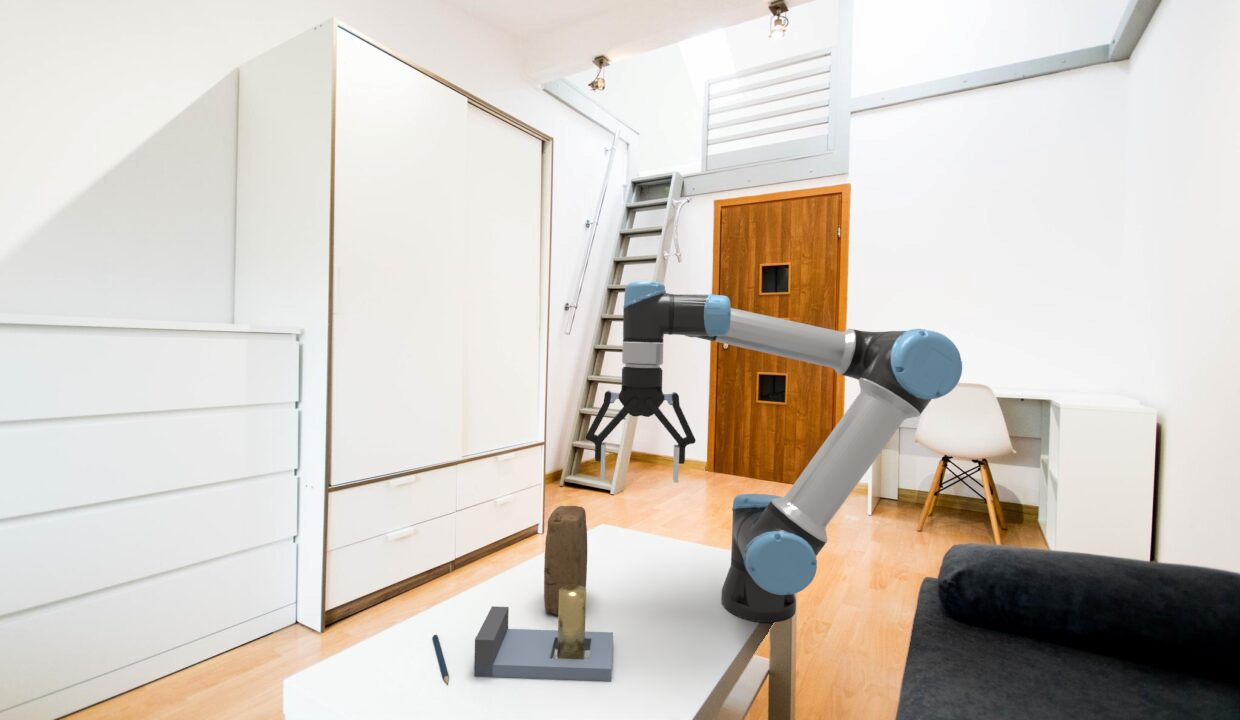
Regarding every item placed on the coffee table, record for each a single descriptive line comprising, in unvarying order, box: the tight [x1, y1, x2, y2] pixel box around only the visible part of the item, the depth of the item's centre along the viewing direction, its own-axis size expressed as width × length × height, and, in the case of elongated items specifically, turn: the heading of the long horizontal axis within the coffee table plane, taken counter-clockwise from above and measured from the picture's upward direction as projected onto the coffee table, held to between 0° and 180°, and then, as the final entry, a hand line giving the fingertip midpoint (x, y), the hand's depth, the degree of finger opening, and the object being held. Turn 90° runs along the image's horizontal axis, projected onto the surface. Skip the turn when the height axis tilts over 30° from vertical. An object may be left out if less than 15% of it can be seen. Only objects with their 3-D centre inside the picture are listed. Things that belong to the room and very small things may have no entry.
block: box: [543, 505, 588, 616], centre depth 112 cm, size 11×8×20 cm
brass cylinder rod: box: [556, 584, 587, 660], centre depth 93 cm, size 5×5×12 cm
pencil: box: [432, 634, 450, 685], centre depth 92 cm, size 1×1×15 cm
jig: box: [473, 606, 614, 682], centre depth 93 cm, size 22×11×6 cm, turn 89°
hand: (639, 479), depth 102 cm, fingers open, 13 cm apart
